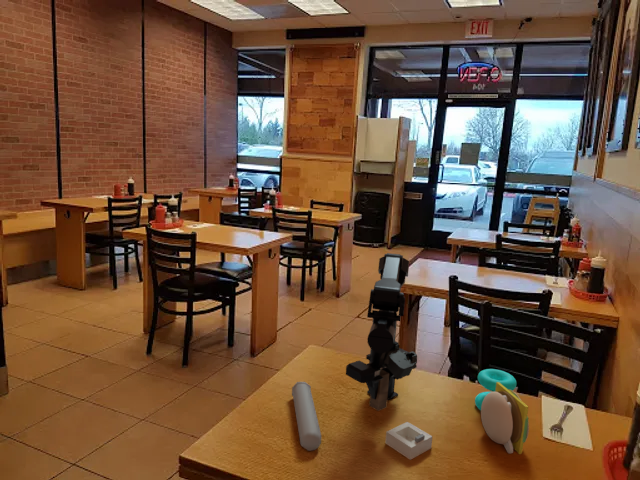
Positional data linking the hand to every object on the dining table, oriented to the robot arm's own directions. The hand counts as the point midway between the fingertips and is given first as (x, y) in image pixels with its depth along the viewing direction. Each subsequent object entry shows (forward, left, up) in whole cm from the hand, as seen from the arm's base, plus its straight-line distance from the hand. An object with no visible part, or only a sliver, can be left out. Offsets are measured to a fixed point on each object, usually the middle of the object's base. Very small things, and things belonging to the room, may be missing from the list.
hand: (378, 396), depth 118 cm
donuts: (-34, +12, -9) cm, 37 cm away
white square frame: (-1, +9, -9) cm, 13 cm away
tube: (+13, -12, -9) cm, 20 cm away
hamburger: (-22, +21, -9) cm, 32 cm away
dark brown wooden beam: (0, 0, -3) cm, 3 cm away
